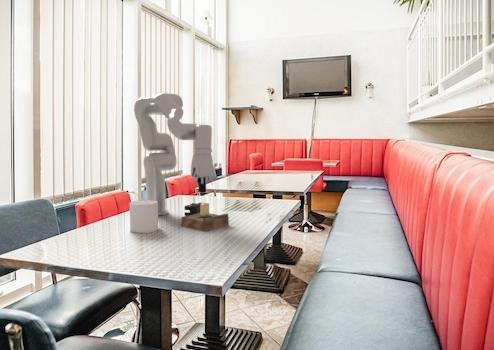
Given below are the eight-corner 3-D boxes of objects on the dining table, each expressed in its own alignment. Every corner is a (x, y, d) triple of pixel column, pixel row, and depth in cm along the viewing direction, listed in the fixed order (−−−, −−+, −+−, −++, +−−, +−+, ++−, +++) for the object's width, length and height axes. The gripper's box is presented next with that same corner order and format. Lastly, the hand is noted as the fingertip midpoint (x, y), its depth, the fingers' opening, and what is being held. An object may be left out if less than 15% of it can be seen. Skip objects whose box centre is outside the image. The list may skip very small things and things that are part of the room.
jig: (181, 225, 173) (181, 214, 172) (203, 220, 183) (203, 209, 183) (206, 231, 163) (206, 219, 162) (228, 225, 173) (228, 214, 173)
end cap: (197, 219, 186) (196, 206, 185) (184, 218, 188) (183, 205, 187) (206, 215, 195) (206, 202, 194) (193, 214, 197) (193, 201, 197)
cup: (163, 227, 169) (162, 200, 168) (148, 234, 158) (147, 205, 157) (140, 225, 173) (140, 199, 172) (124, 231, 162) (123, 203, 161)
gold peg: (198, 225, 173) (198, 203, 172) (204, 224, 176) (204, 202, 175) (204, 227, 170) (204, 204, 169) (211, 225, 173) (210, 203, 172)
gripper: (209, 151, 181) (208, 189, 183) (184, 152, 169) (184, 192, 172) (220, 152, 176) (219, 191, 179) (196, 153, 165) (195, 195, 167)
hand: (202, 192), depth 175 cm, fingers closed
